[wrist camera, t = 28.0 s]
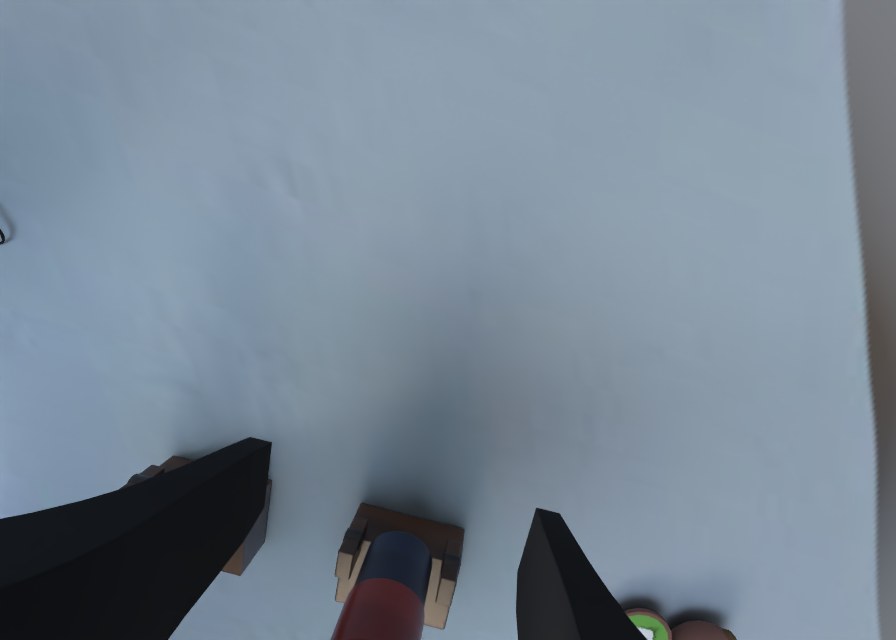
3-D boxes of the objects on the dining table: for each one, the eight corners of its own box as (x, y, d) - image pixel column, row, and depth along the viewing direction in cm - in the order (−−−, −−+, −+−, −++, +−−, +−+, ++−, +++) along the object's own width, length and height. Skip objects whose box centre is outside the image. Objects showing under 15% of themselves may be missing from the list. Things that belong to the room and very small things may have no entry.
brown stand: (449, 589, 25) (428, 744, 18) (350, 564, 26) (290, 705, 19) (468, 516, 24) (452, 651, 17) (363, 490, 24) (304, 611, 17)
